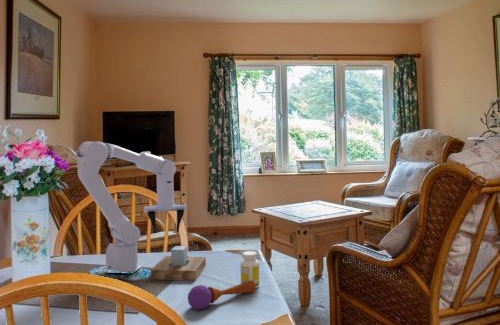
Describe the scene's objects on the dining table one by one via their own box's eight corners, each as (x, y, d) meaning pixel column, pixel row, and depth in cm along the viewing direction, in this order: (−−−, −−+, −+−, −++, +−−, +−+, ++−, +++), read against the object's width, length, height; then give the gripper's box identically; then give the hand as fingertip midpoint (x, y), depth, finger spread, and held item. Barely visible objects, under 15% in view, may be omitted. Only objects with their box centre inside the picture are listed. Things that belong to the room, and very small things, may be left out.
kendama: (260, 281, 108) (197, 294, 96) (256, 301, 109) (193, 316, 97) (247, 272, 113) (185, 282, 101) (243, 291, 114) (182, 304, 102)
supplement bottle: (258, 282, 118) (258, 250, 117) (259, 289, 113) (259, 255, 112) (240, 282, 118) (240, 250, 117) (240, 289, 112) (240, 256, 112)
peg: (171, 274, 126) (171, 249, 125) (175, 269, 130) (175, 246, 129) (183, 274, 125) (183, 249, 125) (187, 270, 129) (186, 246, 129)
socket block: (151, 279, 122) (150, 269, 121) (165, 264, 135) (165, 255, 135) (195, 280, 120) (195, 270, 120) (205, 265, 134) (205, 256, 134)
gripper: (143, 196, 133) (144, 235, 134) (186, 194, 136) (187, 233, 137) (144, 193, 140) (146, 230, 141) (186, 191, 142) (187, 228, 143)
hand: (166, 231), depth 139 cm, fingers open, 7 cm apart
